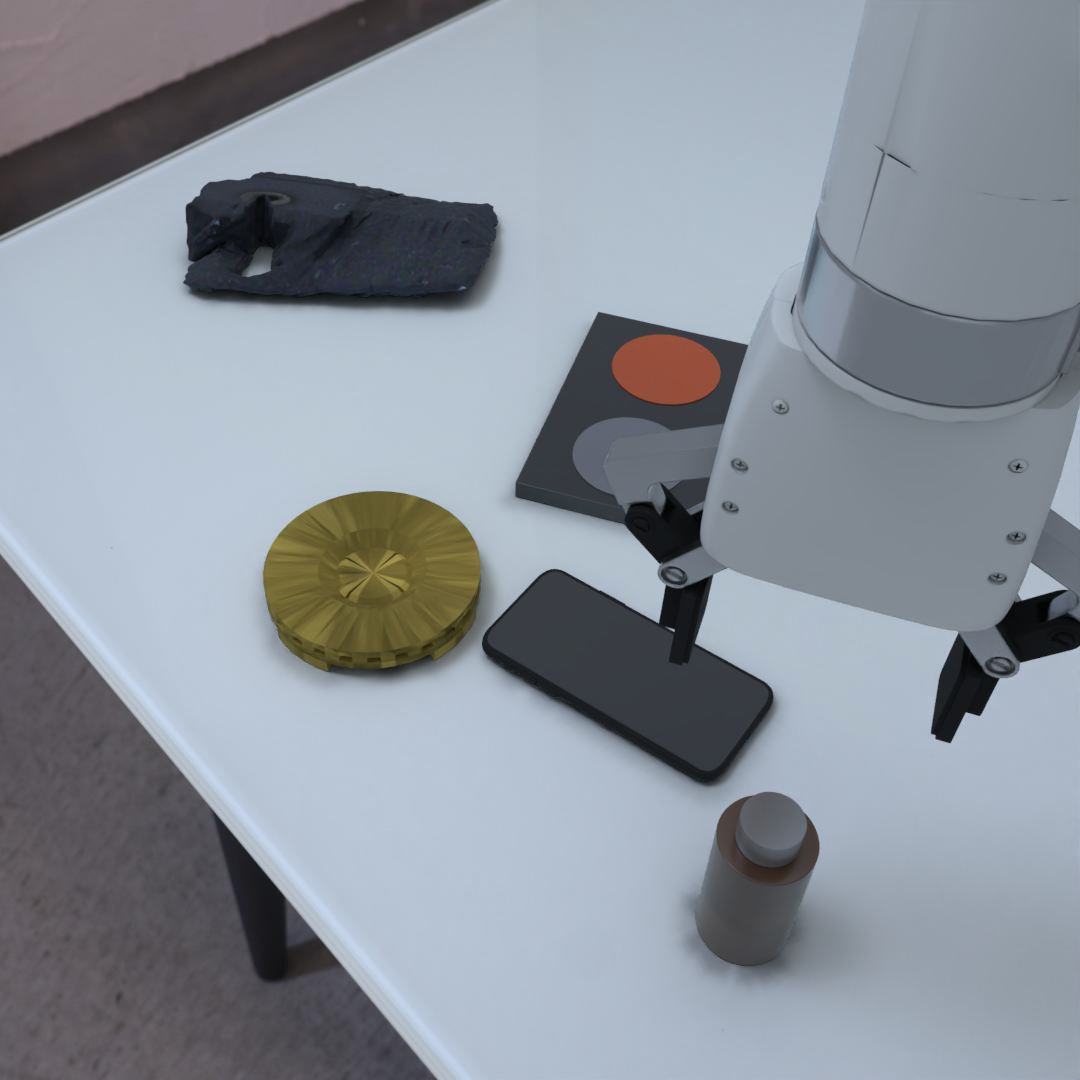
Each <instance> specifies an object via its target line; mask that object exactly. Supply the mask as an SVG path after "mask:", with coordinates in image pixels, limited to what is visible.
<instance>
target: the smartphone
mask: <svg viewBox="0 0 1080 1080" xmlns="http://www.w3.org/2000/svg"><path fill="white" fill-rule="evenodd" d="M674 631H675V630H674ZM674 631H673V629H671V628H667V627H664V626H660V625H659V622H657V621H656V620H654V619H652V618H650V617H648V616H646V615H645V614H643V613H641V612H639V611H638V610H635V609H633V607H630V606H629V605H627V604H626V603H625V602H623V601H621V600H619V599H618V598H616V597H614V596H612V595H610V594H608V593H606V592H604V591H603V590H601V589H600V590H599V589H598V588H596V587H593V585H590V584H588V583H587V582H584V581H583V580H581V579H579V578H577V577H575V576H574V575H572V574H570V573H569V572H567V571H565V570H562V569H559V568H550V569H548V570H547V569H546V570H545V571H544V572H542V573H541V574H539V575H538V576H537V577H536V578H535V579H534V580H533V581H532V582H531V583H530V584H529V585H528V586H527V587H526V588H525V589H524V590H523V592H521V594H520V595H519V596H518V597H517V598H516V599H515V600H513V602H512V603H511V604H510V605H509V606H508V607H507V608H506V609H505V611H503V612H502V613H501V614H500V616H498V617H497V619H496V620H495V621H494V622H492V624H491V625H490V626H489V627H488V628H487V629H486V630H485V632H484V634H483V636H482V639H481V647H482V650H483V652H484V653H485V654H486V655H487V656H488V657H490V658H491V659H493V660H494V661H496V662H497V663H499V664H501V665H502V666H503V667H504V668H505V669H507V670H509V671H512V672H515V673H516V674H518V676H519V677H521V678H523V679H524V680H526V681H527V682H529V683H531V684H533V685H534V686H538V687H540V689H541V690H543V691H544V692H546V693H548V694H550V695H551V696H553V697H554V698H556V699H557V698H558V699H560V700H562V701H563V702H565V703H567V704H568V705H570V706H572V707H573V708H576V709H577V710H579V711H581V712H583V713H584V714H585V715H587V716H588V717H591V718H592V719H594V720H596V721H597V722H599V723H601V724H602V725H604V726H606V727H607V728H608V729H611V730H613V731H615V732H616V733H617V734H619V735H621V736H623V737H624V738H626V739H628V740H629V741H631V742H633V743H634V744H636V745H638V746H639V747H641V748H642V749H645V750H647V752H650V753H652V755H655V756H657V757H658V758H660V759H662V760H663V761H664V762H667V763H668V764H670V765H672V766H674V767H675V768H677V769H679V770H680V771H682V772H684V773H685V774H687V775H689V776H691V778H693V779H695V780H698V781H700V782H701V781H702V782H712V781H714V780H717V779H718V778H720V777H721V776H722V775H723V774H724V773H725V772H726V771H727V769H728V768H729V766H730V765H731V764H732V762H733V761H734V759H735V758H736V757H737V755H738V754H739V753H740V751H741V750H742V748H743V747H744V746H745V744H746V743H747V742H748V740H749V739H750V737H751V736H752V735H753V733H754V732H755V730H756V729H757V728H758V726H759V725H760V724H761V722H762V721H763V720H764V718H765V716H766V715H767V714H768V712H769V711H770V709H771V708H772V706H773V702H774V691H773V688H772V687H771V686H770V685H769V684H768V683H767V682H766V681H764V680H762V679H761V678H758V677H756V675H753V674H751V673H750V672H748V671H746V670H744V669H743V668H741V667H739V666H737V665H735V664H733V663H732V662H730V661H728V660H727V659H724V658H722V657H721V656H718V655H717V654H715V653H713V652H712V651H710V650H708V649H706V648H704V647H703V646H701V645H699V644H697V643H695V645H694V648H693V651H692V654H691V657H690V660H689V663H688V664H687V663H683V664H682V666H680V665H677V664H673V663H670V662H669V656H670V651H671V646H672V641H673V636H674Z"/></svg>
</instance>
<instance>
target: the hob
mask: <svg viewBox="0 0 1080 1080" xmlns="http://www.w3.org/2000/svg"><path fill="white" fill-rule="evenodd" d="M748 345H749V344H747V343H741V342H737V341H733V340H728V339H724V338H719V337H716V336H710V335H705V334H701V333H698V332H697V333H696V332H692V331H688V330H684V329H679V328H674V327H670V326H665V325H661V324H656V323H651V322H647V321H643V320H637V319H634V318H629V317H624V316H619V315H615V314H611V313H606V312H601V311H597V313H596V316H595V318H594V319H593V322H592V324H591V326H590V328H589V330H588V332H587V334H586V336H585V338H584V340H583V342H582V344H581V346H580V348H579V350H578V352H577V355H576V357H575V359H574V361H573V363H572V364H571V367H570V369H569V371H568V373H567V375H566V377H565V379H564V381H563V384H562V385H561V388H560V389H559V392H558V394H557V396H556V398H555V400H554V402H553V405H552V406H551V408H550V410H549V413H548V415H547V417H546V418H545V420H544V423H543V424H542V427H541V429H540V431H539V434H538V435H537V437H536V440H534V444H533V446H532V448H531V450H530V452H529V454H528V456H527V458H526V459H525V462H524V464H523V465H522V468H521V470H520V472H519V475H518V477H517V478H516V481H515V487H514V488H515V491H514V497H517V498H520V499H525V500H529V501H533V502H535V503H536V502H537V503H541V504H544V505H548V506H553V507H556V508H561V509H565V510H569V511H573V512H577V513H580V514H583V515H589V516H593V517H597V518H600V519H604V520H608V521H612V522H616V523H620V524H624V525H625V522H624V519H625V516H626V513H625V511H624V509H623V507H622V505H619V504H618V502H617V500H616V497H615V495H614V493H613V491H612V489H611V487H610V485H609V483H608V481H607V479H606V477H605V475H604V472H603V465H604V463H605V460H606V458H607V456H608V453H609V451H610V449H611V447H612V444H613V442H614V441H615V440H616V439H618V438H621V437H627V436H635V435H643V434H650V433H658V432H665V431H673V430H680V429H688V428H695V427H703V426H710V425H718V424H725V420H726V417H727V413H728V410H729V407H730V403H731V400H732V396H733V393H734V389H735V386H736V383H737V379H738V376H739V372H740V369H741V366H742V363H743V360H744V357H745V354H746V351H747V348H748ZM709 481H710V478H702V479H693V480H684V481H675V482H666V483H662V484H663V485H664V486H665V487H667V489H668V490H669V491H670V492H671V493H672V494H673V495H674V497H675V498H676V499H677V500H678V501H679V502H680V503H681V505H682V506H683V507H684V508H685V509H686V510H687V509H689V508H691V507H693V506H695V505H697V504H699V503H701V502H703V501H705V499H706V494H707V489H708V485H709Z"/></svg>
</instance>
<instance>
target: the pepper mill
mask: <svg viewBox="0 0 1080 1080" xmlns="http://www.w3.org/2000/svg"><path fill="white" fill-rule="evenodd" d="M820 849H821V847H820V837H819V834H818V831H817V829H816V827H815V824H814V823H813V822H812V820H811V818H810V817H809V816H808V815H807V813H805V812H804V810H803V808H802V807H801V806H800V805H799V804H798V803H797V801H795V800H794V799H793V798H791V797H790V796H788V795H785V794H783V793H781V792H776V791H763V792H757V793H756V794H752V795H748V796H747V795H746V796H744V797H741V798H739V799H737V800H735V801H733V802H732V803H731V804H729V805H728V806H727V807H726V808H725V809H724V811H723V812H722V813H721V814H720V817H719V818H718V822H717V824H716V829H715V833H714V837H713V841H712V845H711V849H710V852H709V857H708V861H707V865H706V869H705V873H704V876H703V881H702V884H701V888H700V893H699V896H698V901H697V905H696V910H695V924H696V928H697V931H698V934H699V936H700V938H701V940H702V942H703V943H704V944H705V945H706V947H707V948H708V949H709V950H710V951H711V952H712V953H713V954H714V955H716V956H717V957H719V958H720V959H722V960H724V961H726V962H729V963H731V964H735V965H739V966H750V967H751V966H758V965H761V964H766V963H767V962H770V961H772V960H773V959H775V958H776V957H777V956H778V955H780V953H782V951H783V950H784V948H785V947H786V945H787V943H788V940H789V938H790V936H791V932H792V930H793V928H794V924H795V922H796V919H797V917H798V915H799V914H798V913H799V911H800V908H801V906H802V903H803V900H804V897H805V894H806V892H807V890H808V887H809V884H810V881H811V878H812V875H813V873H814V870H815V867H816V864H817V863H818V859H819V855H820Z"/></svg>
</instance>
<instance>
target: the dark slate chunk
mask: <svg viewBox="0 0 1080 1080" xmlns="http://www.w3.org/2000/svg"><path fill="white" fill-rule="evenodd" d="M185 223H186V229H187V230H186V245H187V248H188V253H187V260H188V261H189V262H191V263H192V264H190V265H189V266H188V267H187V273H185V275H184V278H185V279H184V280H183V282H182V284H184V285H185V286H187V287H189V288H190V289H192V290H193V291H198V290H199V291H202V292H207V293H209V292H215V291H216V290H230V291H236V292H243V293H247V294H248V295H252V294H260V295H264V296H271V295H281V296H294V298H302V297H306V296H312V295H316V294H332V295H337V296H350V297H351V296H353V295H355V294H357V295H358V298H368V297H370V296H372V295H374V296H376V297H384V296H393V297H399V298H404V297H405V298H406V297H410V296H414V297H415V298H416V299H423V298H424V297H425V296H428V295H429V296H430V295H432V294H433V295H435V294H436V293H449V292H463V291H466V290H468V289H470V288H471V287H472V286H473V284H474V283H475V282H476V280H477V279H478V278H479V276H480V274H481V270H482V268H483V266H484V265H485V262H486V260H487V259H488V258H489V257H490V256H491V255H490V254H491V251H492V249H491V248H492V244H493V242H494V241H495V240H496V235H497V229H496V227H497V226H498V224H499V220H498V215H497V214H496V212H495V211H494V206H493V205H491V204H490V203H487V202H485V203H477V202H476V203H473V202H461V201H446V200H441V201H440V200H437V199H434V198H433V199H432V198H428V197H427V198H426V197H422V196H415V195H414V196H411V195H406V194H405V193H403V192H401V193H399V192H395V191H392V190H387V189H384V188H382V187H380V188H379V187H371V186H368V185H358V184H356V182H346V181H339V180H333V179H330V178H320V177H312V176H307V175H300V174H289V173H278V172H274V171H265V172H263V171H260V172H256V173H254V174H252V175H251V176H250V177H248V178H243V179H222V180H218V181H217V180H216V181H209V182H207V183H206V184H204V185H203V187H201V189H200V191H199V195H198V196H195V197H194V198H193V199H192V200H191V202H188V203H187V204H186V205H185ZM263 246H268V247H271V248H272V249H273V251H272V253H271V260H270V270H269V271H266V272H262V273H259V274H254V275H253V274H252V275H250V276H244V275H243V274H242V273H243V271H244V269H246V268H248V266H249V265H250V263H251V261H252V260H253V258H254V255H253V253H254V252H255V251H256V249H257V248H259V247H263Z"/></svg>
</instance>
